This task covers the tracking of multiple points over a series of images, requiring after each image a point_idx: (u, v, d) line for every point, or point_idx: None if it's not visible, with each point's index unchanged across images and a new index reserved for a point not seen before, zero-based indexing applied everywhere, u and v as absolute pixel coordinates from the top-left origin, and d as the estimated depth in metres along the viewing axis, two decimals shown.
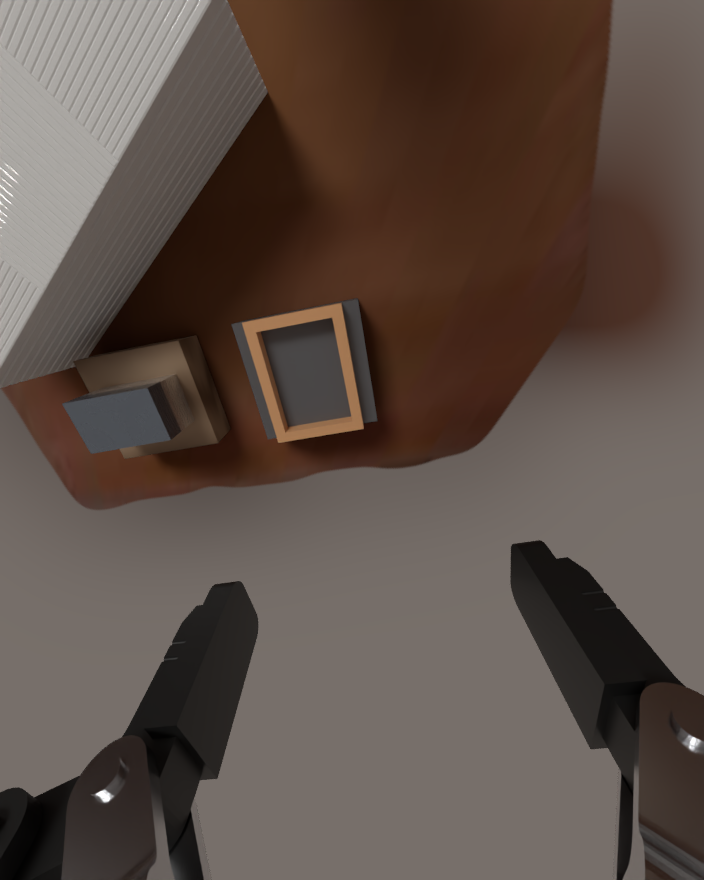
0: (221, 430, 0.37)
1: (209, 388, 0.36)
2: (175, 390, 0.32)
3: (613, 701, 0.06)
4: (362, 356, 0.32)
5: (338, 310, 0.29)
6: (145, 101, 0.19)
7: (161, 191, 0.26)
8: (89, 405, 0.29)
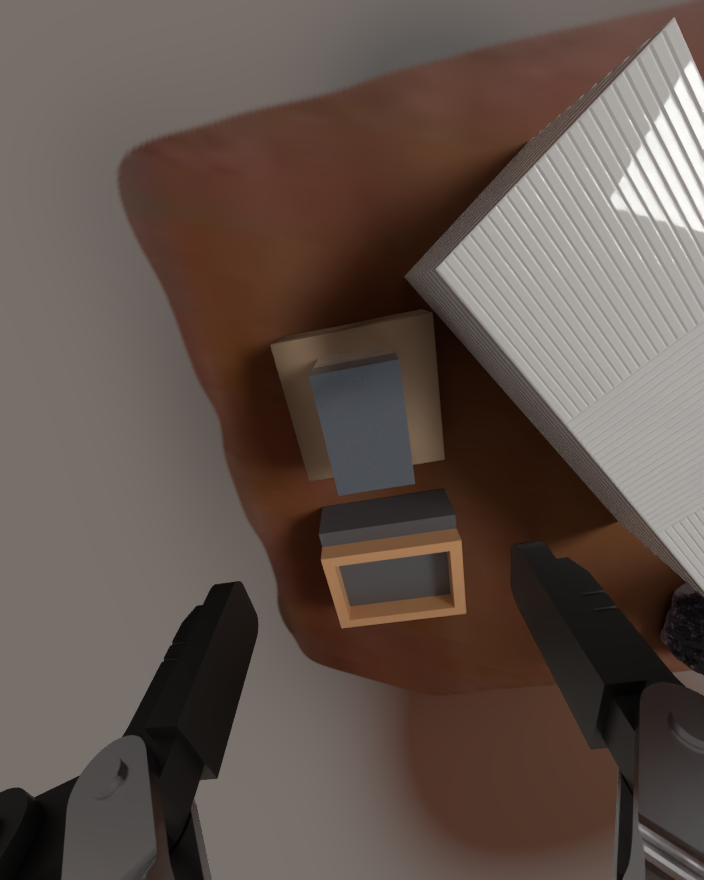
0: None
1: None
2: None
3: (613, 701, 0.06)
4: None
5: (460, 611, 0.31)
6: (687, 562, 0.22)
7: (594, 482, 0.25)
8: (393, 401, 0.19)
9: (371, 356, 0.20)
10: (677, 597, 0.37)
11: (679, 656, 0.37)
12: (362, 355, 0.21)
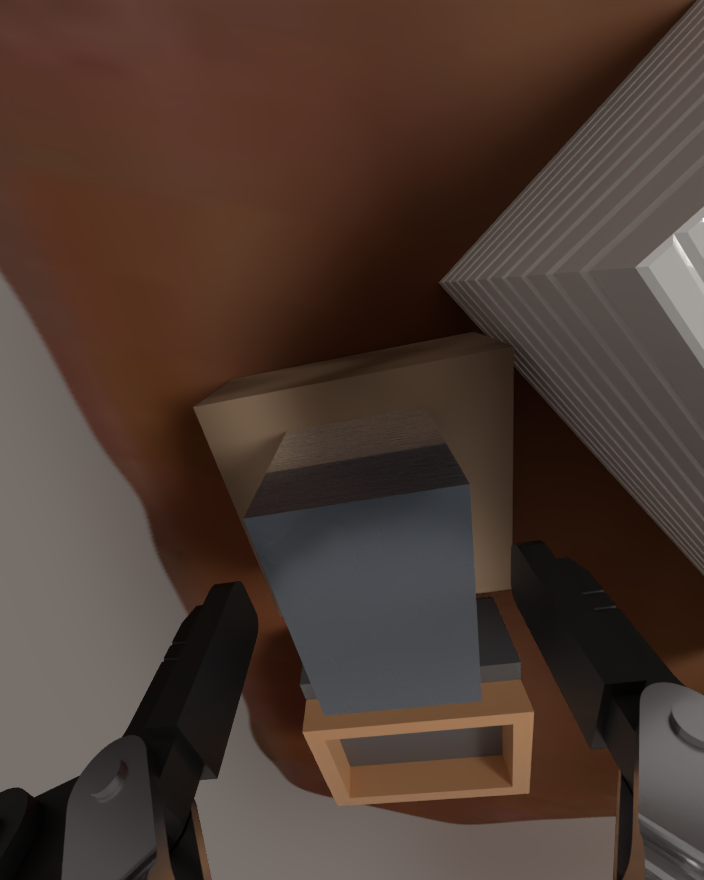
0: None
1: None
2: None
3: (613, 701, 0.06)
4: None
5: (520, 791, 0.20)
6: None
7: None
8: (447, 568, 0.08)
9: (392, 448, 0.09)
10: None
11: None
12: (372, 439, 0.10)
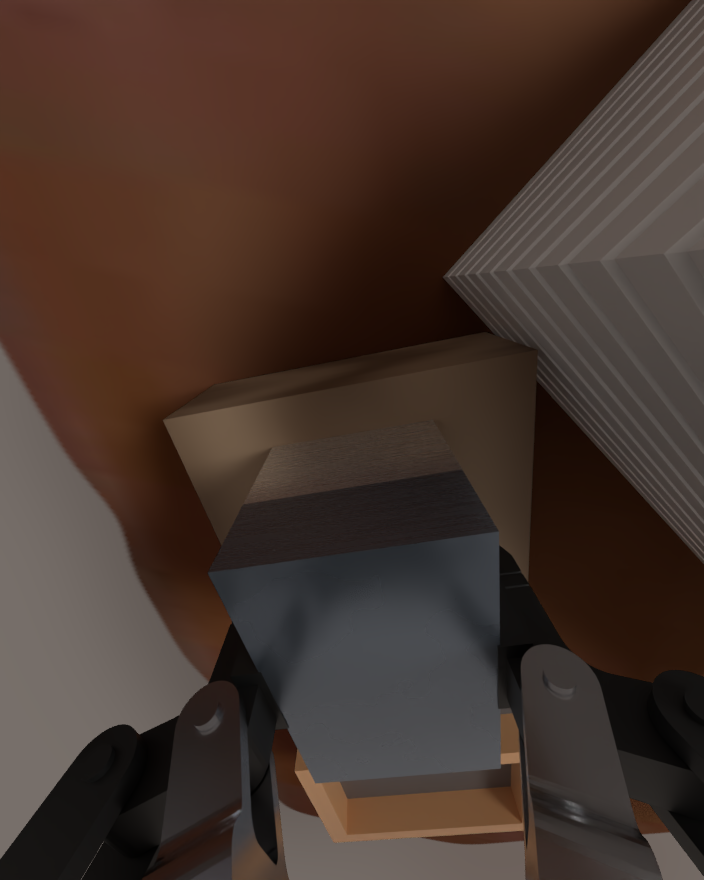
0: None
1: None
2: None
3: (509, 663, 0.07)
4: None
5: None
6: None
7: None
8: (466, 629, 0.06)
9: (396, 475, 0.07)
10: None
11: None
12: (371, 461, 0.08)
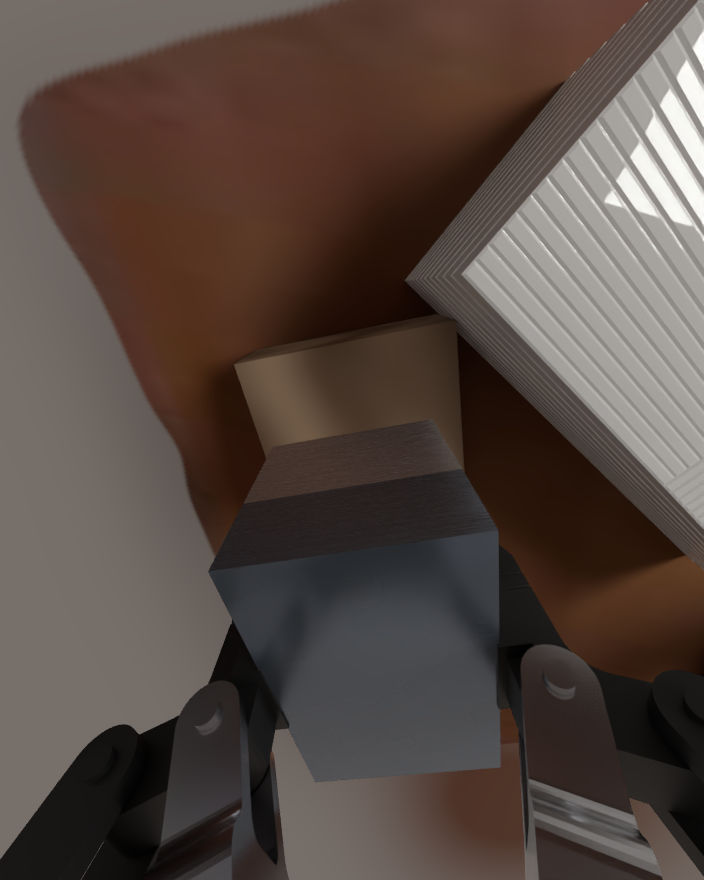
0: None
1: None
2: None
3: (508, 663, 0.07)
4: None
5: None
6: None
7: (671, 527, 0.20)
8: (465, 628, 0.06)
9: (396, 474, 0.07)
10: None
11: None
12: (371, 460, 0.08)
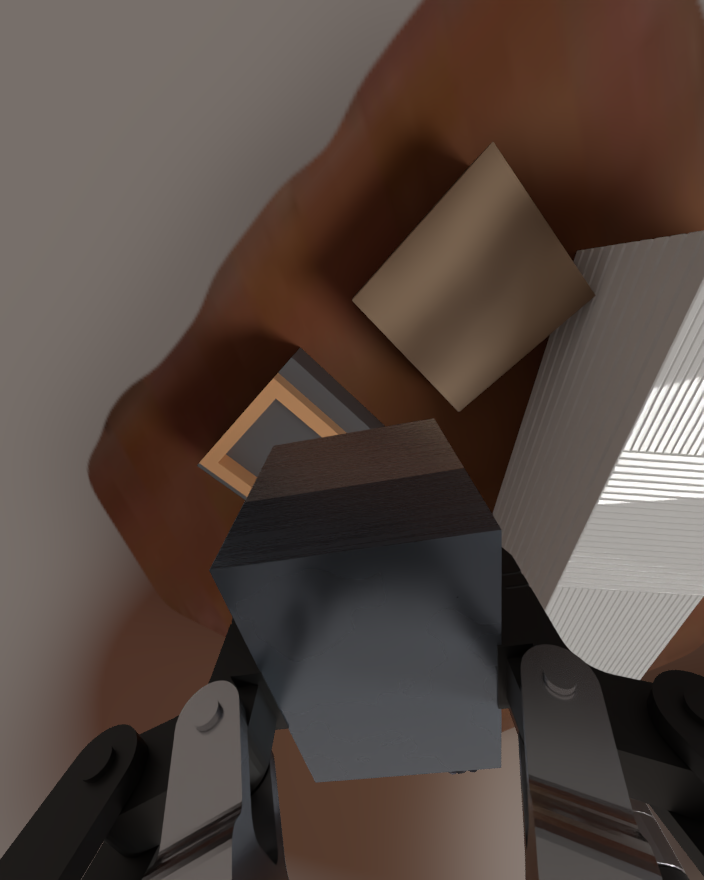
0: None
1: None
2: None
3: (509, 663, 0.07)
4: None
5: None
6: None
7: (522, 528, 0.28)
8: (468, 628, 0.06)
9: (398, 473, 0.07)
10: None
11: None
12: (373, 459, 0.08)
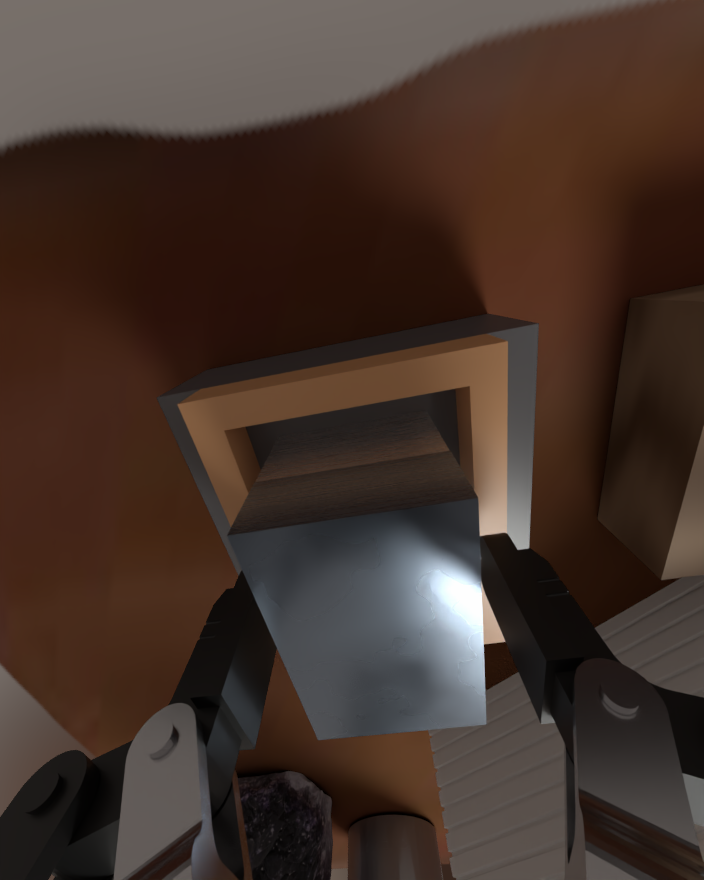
0: (677, 325, 0.11)
1: (635, 438, 0.14)
2: None
3: (556, 677, 0.06)
4: None
5: None
6: None
7: None
8: (452, 588, 0.07)
9: (392, 456, 0.08)
10: (283, 780, 0.29)
11: None
12: (369, 445, 0.09)
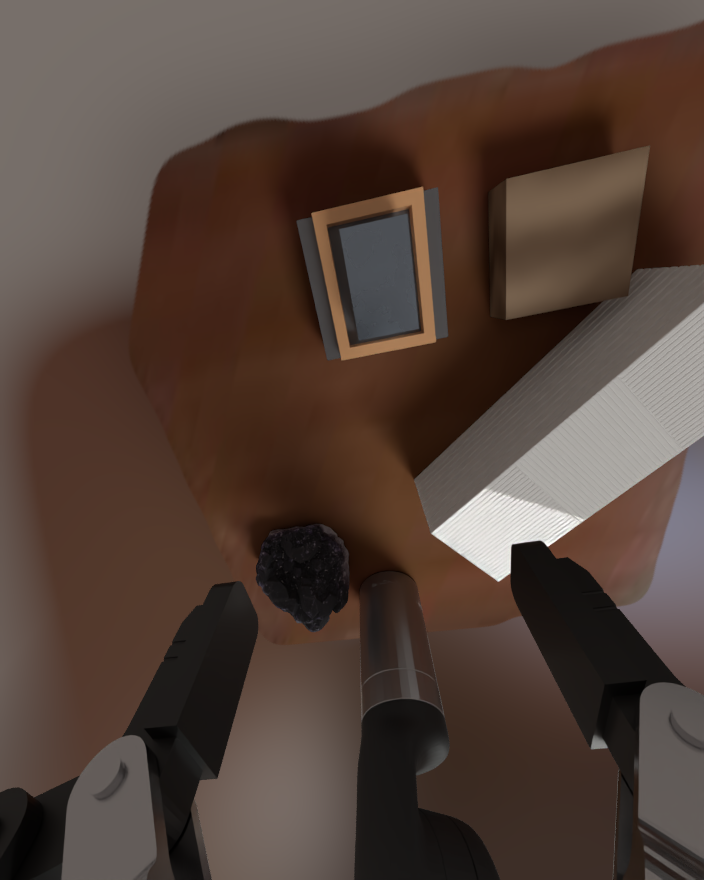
0: (498, 195, 0.29)
1: (495, 257, 0.31)
2: None
3: (613, 701, 0.06)
4: (320, 305, 0.31)
5: (344, 354, 0.31)
6: (484, 491, 0.32)
7: (494, 436, 0.35)
8: (402, 252, 0.25)
9: None
10: (319, 526, 0.46)
11: (267, 543, 0.44)
12: None
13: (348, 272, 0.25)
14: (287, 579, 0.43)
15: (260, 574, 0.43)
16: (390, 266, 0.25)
